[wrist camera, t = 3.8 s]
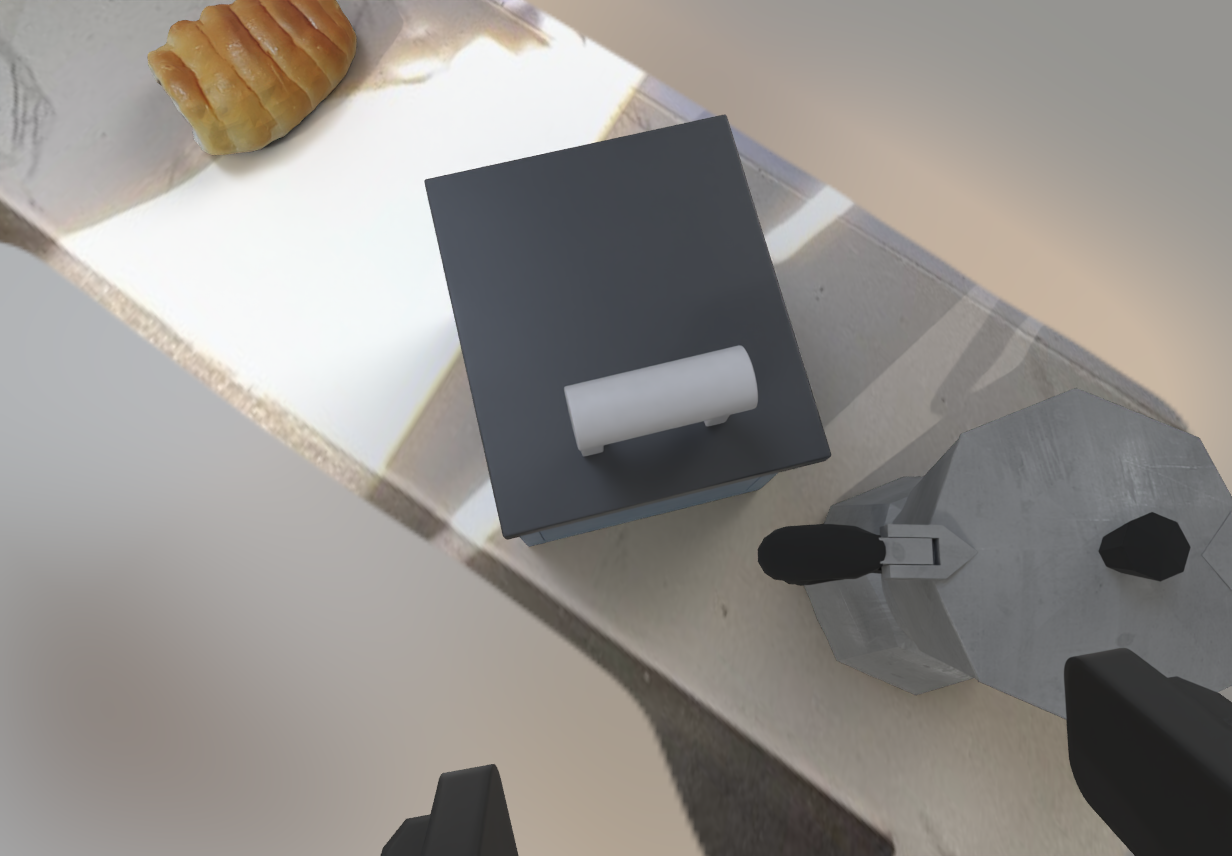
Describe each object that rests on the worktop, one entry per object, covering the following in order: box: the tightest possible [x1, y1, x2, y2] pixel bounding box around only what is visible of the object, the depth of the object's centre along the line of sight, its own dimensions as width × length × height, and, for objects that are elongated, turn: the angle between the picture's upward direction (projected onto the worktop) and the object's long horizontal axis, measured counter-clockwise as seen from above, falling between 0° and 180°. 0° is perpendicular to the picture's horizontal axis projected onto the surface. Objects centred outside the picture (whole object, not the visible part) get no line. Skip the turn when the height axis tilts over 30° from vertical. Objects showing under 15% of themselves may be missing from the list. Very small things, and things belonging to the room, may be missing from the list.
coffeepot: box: [758, 388, 1232, 720], centre depth 30 cm, size 15×9×18 cm, turn 89°
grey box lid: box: [425, 115, 831, 539], centre depth 27 cm, size 12×11×6 cm
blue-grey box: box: [520, 473, 778, 547], centre depth 35 cm, size 12×11×11 cm
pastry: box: [148, 0, 357, 155], centre depth 42 cm, size 9×7×4 cm
